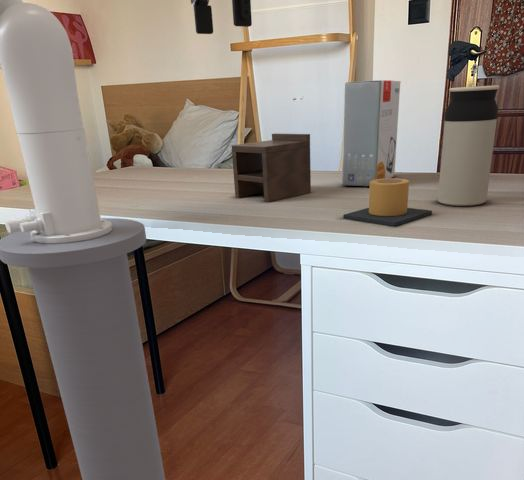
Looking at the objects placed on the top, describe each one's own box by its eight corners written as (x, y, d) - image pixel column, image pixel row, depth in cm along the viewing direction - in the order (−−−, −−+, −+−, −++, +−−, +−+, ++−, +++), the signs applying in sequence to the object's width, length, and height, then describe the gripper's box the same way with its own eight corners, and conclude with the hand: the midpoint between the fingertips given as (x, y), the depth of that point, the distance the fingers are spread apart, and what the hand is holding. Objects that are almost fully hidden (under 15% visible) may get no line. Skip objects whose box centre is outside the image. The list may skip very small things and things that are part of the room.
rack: (268, 202, 101) (265, 139, 96) (235, 197, 108) (230, 138, 103) (310, 192, 108) (310, 133, 103) (277, 188, 115) (275, 133, 110)
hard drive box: (376, 187, 109) (380, 80, 101) (341, 186, 113) (342, 82, 104) (395, 176, 121) (401, 79, 113) (363, 175, 125) (366, 81, 116)
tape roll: (392, 218, 81) (394, 185, 79) (361, 213, 85) (361, 182, 83) (414, 211, 84) (416, 179, 82) (383, 207, 88) (384, 176, 86)
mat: (395, 226, 78) (395, 222, 78) (343, 218, 85) (343, 214, 85) (431, 214, 84) (432, 210, 84) (380, 207, 91) (380, 204, 91)
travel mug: (480, 208, 86) (495, 85, 79) (431, 205, 90) (441, 88, 83) (490, 199, 92) (505, 84, 85) (444, 197, 96) (454, 87, 89)
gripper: (159, -94, 80) (173, 35, 88) (230, -132, 69) (240, 22, 76) (198, -87, 85) (209, 36, 92) (272, -121, 73) (277, 23, 80)
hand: (223, 30), depth 84 cm, fingers open, 9 cm apart
